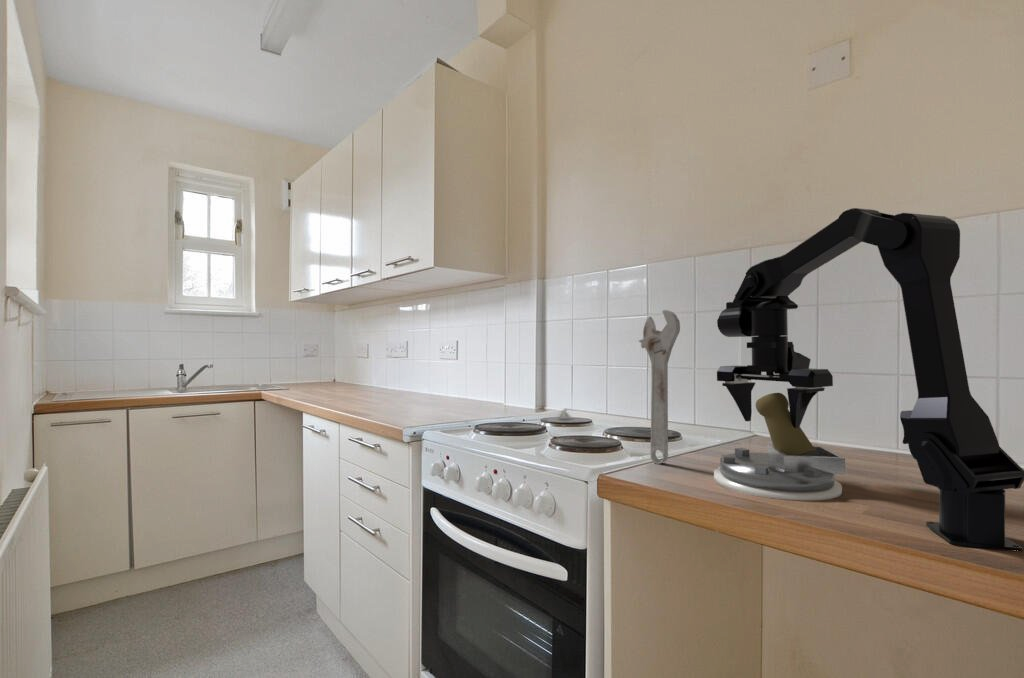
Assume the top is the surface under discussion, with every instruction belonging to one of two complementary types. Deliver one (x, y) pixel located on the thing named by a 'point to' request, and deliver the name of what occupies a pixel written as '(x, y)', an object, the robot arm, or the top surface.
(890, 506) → the top surface
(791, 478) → the grey tabbed disc
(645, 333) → the wrench
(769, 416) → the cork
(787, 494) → the base plate
